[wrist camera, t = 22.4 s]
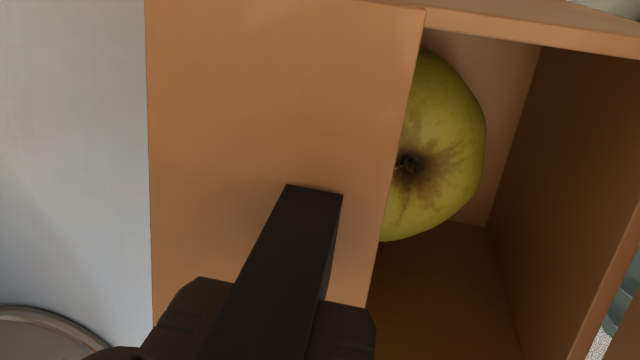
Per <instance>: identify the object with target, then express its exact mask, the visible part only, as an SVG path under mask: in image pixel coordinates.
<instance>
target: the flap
mask: <svg viewBox="0 0 640 360" xmlns="http://www.w3.org/2000/svg"><path fill="white" fill-rule="evenodd" d="M144 5H145V42H146V80H147V118H148V155H149V193H150V230H151V268H152V306H153V327H154V326H156V325H157V322H158V320H159V319H160V317H161V316H162V314H163V313H164V311H166V310H167V307H168V305H169V304H170V302H171V301H172V299H173V298H174V296H175V295H176V293H177V292H178V290H179V289H180V288H182V287H183V286H185V285H186V284H188V283H189V282H191V281H192V280H194V279H195V278H197V277H198V276H202V277H207V278H212V279H216V280H221V281H226V282H231V283H235V281H236V279H237V277H238V275H239V273H240V271H241V269H242V267H243V265H244V264H245V262H246V260H247V258H248V256H249V254H250V252H251V250H252V248H253V246H254V244H255V243H256V241H257V239H258V237H259V235H260V233H261V231H262V229H263V227H264V225H265V223H266V221H267V220H268V218H269V216H270V214H271V212H272V210H273V208H274V206H275V204H276V202H277V200H278V199H279V197H280V195H281V193H282V191H283V189H284V187H285V185H286V184H289V185H295V186H300V187H306V188H311V189H316V190H322V191H327V192H333V193H338V194H343V195H344V196H343V202H342V208H341V214H340V220H339V226H338V232H337V238H336V244H335V251H334V257H333V263H332V269H331V275H330V281H329V285H328V290H327V294H326V298H325V300H327V301H332V302H336V303H341V304H346V305H351V306H356V307H361V308H365V306H366V301H367V296H368V292H369V287H370V282H371V277H372V273H373V268H374V263H375V258H376V253H377V249H378V244H379V239H380V234H381V229H382V225H383V220H384V215H385V210H386V206H387V201H388V196H389V191H390V186H391V182H392V177H393V172H394V167H395V162H396V158H397V153H398V148H399V143H400V139H401V134H402V129H403V124H404V119H405V115H406V110H407V105H408V100H409V95H410V91H411V86H412V81H413V76H414V72H415V67H416V62H417V57H418V52H419V48H420V43H421V38H422V33H423V28H424V24H425V19H426V14H427V10H426V9H425V8H420V7H414V6H407V5H400V4H393V3H386V2H379V1H372V0H144Z"/></svg>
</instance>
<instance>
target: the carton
mask: <svg viewBox="0 0 640 360" xmlns="http://www.w3.org/2000/svg"><path fill="white" fill-rule="evenodd" d="M372 1H379V2H386V3H393V4H400V5H407V6H414V7H420V8H425V9H426V10H427V14H426V19H425V24H424V28H423V33H422V38H421V43H420V47H424V48H427V49H428V50H430V51H432V52H434V53H436V54H438V55H439V56H441V57H442V58H443V59H445V60H446V61H447V62H448V63H450V64H451V65H452V66H453V68H454V69H455V70H456V71H457V72H458V73H459V75H460V76H461V77H462V79H463V80H464V82H465V83H466V84H467V86H468V87H469V89H470V90H471V91H472V93H473V94H474V96H475V97H476V99H477V101H478V102H479V104H480V106H481V108H482V111H483V113H484V116H485V120H486V126H487V133H486V145H485V156H484V171H483V176H482V180H481V183H480V185H479V187H478V189H477V191H476V192H475V194H474V195H473V197H472V198H471V199H470V200H469V201H468V202H467V203H466V204H465V205H464V206H463V207H462V208H461V209H459V210H458V211H457V212H456V213H455V214H453V215H452V216H451V217H450V218H448V219H447V220H446V221H444V222H442V223H441V224H439V225H437V226H436V227H433V228H431V229H429V230H427V231H424V232H421V233H419V234H416V235H413V236H410V237H407V238H403V239H399V240H394V241H387V242H381V241H379V244H378V249H377V253H376V258H375V263H374V268H373V273H372V277H371V282H370V287H369V292H368V296H367V301H366V306H365V308H366V309H368V311H369V313H370V315H371V318H372V320H373V322H374V324H375V327H376V340H375V351H374V360H585V358H586V356H587V354H588V351H589V349H590V347H591V345H592V343H593V341H594V339H595V337H596V335H597V333H598V331H599V329H600V326H601V324H602V322H603V320H604V318H605V316H606V314H607V312H608V310H609V308H610V306H611V304H612V301H613V299H614V297H615V295H616V293H617V291H618V289H619V287H620V285H621V283H622V281H623V279H624V276H625V274H626V272H627V270H628V268H629V266H630V264H631V262H632V260H633V258H634V256H635V254H636V251H637V249H638V247H639V245H640V23H639V22H636V21H633V20H629V19H626V18H623V17H619V16H616V15H613V14H609V13H606V12H603V11H599V10H596V9H593V8H589V7H586V6H582V5H579V4H576V3H572V2H569V1H566V0H372ZM602 360H640V285H639V287H638V289H637V291H636V293H635V295H634V297H633V299H632V301H631V303H630V305H629V307H628V309H627V311H626V313H625V315H624V317H623V319H622V321H621V323H620V325H619V327H618V329H617V331H616V333H615V335H614V337H613V339H612V341H611V343H610V345H609V347H608V349H607V351H606V353H605V355H604V357H603V359H602Z"/></svg>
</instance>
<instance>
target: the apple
mask: <svg viewBox="0 0 640 360" xmlns="http://www.w3.org/2000/svg"><path fill="white" fill-rule="evenodd" d="M486 133H487V126H486V120H485V116H484V113H483V111H482V108H481V106H480V104H479V102H478V101H477V99H476V97H475V96H474V94H473V93H472V91H471V90H470V89H469V87H468V86H467V84H466V83H465V82H464V80H463V79H462V77H461V76H460V75H459V73H458V72H457V71H456V70H455V69H454V68H453V66H452V65H451V64H450V63H448V62H447V61H446V60H445V59H443V58H442V57H441V56H439V55H438V54H436V53H434V52H432V51H430V50H428V49H427V48H424V47H420V48H419V52H418V57H417V62H416V67H415V72H414V76H413V81H412V86H411V91H410V95H409V100H408V105H407V110H406V115H405V119H404V124H403V129H402V134H401V139H400V143H399V148H398V153H397V158H396V162H395V167H394V172H393V177H392V182H391V186H390V191H389V196H388V201H387V206H386V210H385V215H384V220H383V225H382V229H381V234H380V239H379V241H381V242H387V241H394V240H399V239H403V238H407V237H410V236H413V235H416V234H419V233H421V232H424V231H427V230H429V229H431V228H433V227H436V226H437V225H439V224H441V223H442V222H444V221H446V220H447V219H448V218H450V217H451V216H452V215H453V214H455V213H456V212H457V211H458V210H459V209H461V208H462V207H463V206H464V205H465V204H466V203H467V202H468V201H469V200H470V199H471V198H472V197H473V195H474V194H475V192H476V191H477V189H478V187H479V185H480V183H481V180H482V176H483V171H484V156H485V145H486Z"/></svg>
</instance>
